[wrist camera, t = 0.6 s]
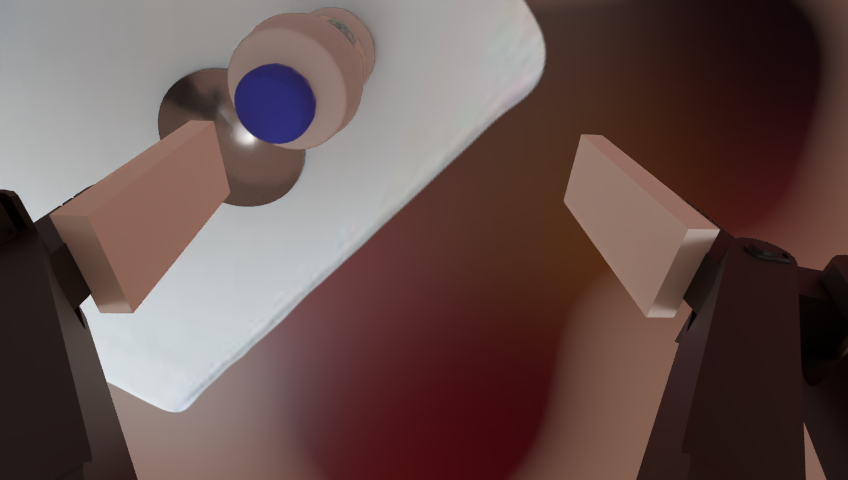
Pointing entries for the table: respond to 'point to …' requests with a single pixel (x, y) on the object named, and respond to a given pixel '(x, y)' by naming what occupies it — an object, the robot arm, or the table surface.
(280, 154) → the flange disc
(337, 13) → the bottle
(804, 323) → the robot arm
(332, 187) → the table surface
